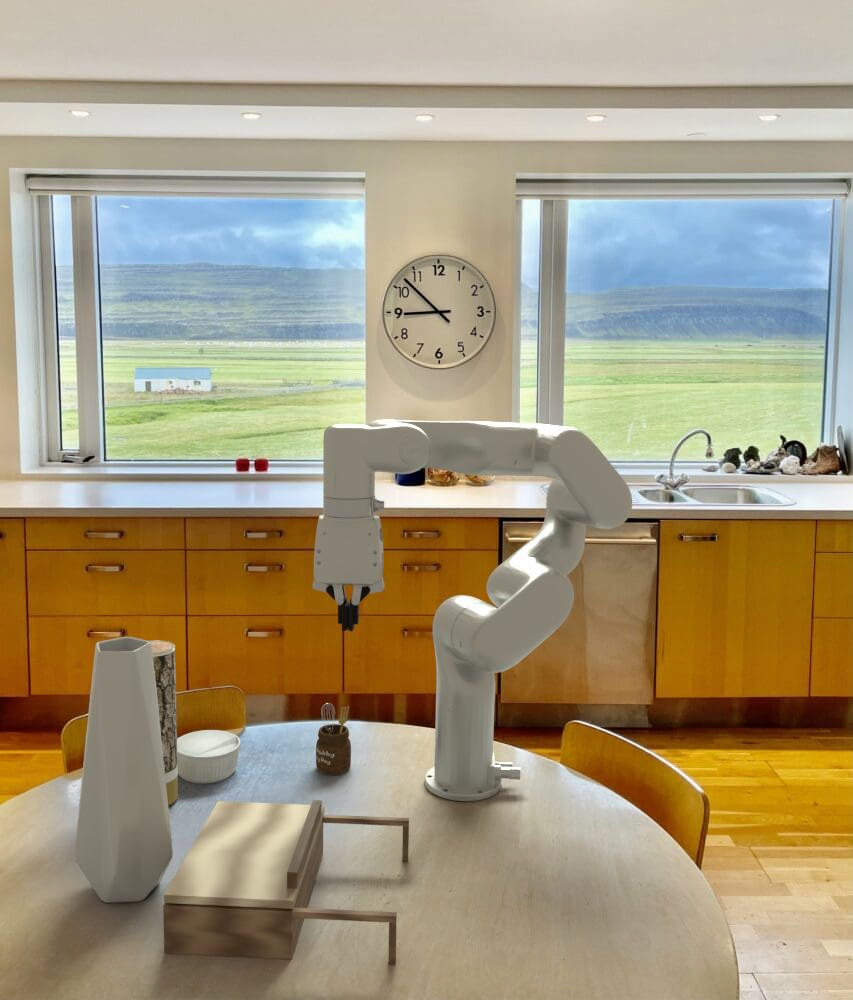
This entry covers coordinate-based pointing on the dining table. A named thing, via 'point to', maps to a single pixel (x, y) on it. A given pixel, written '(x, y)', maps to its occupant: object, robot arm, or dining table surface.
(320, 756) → the utensil holder
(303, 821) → the lid
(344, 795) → the dining table surface
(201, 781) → the ramekin
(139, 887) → the vase
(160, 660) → the paper tube
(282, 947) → the wooden box
